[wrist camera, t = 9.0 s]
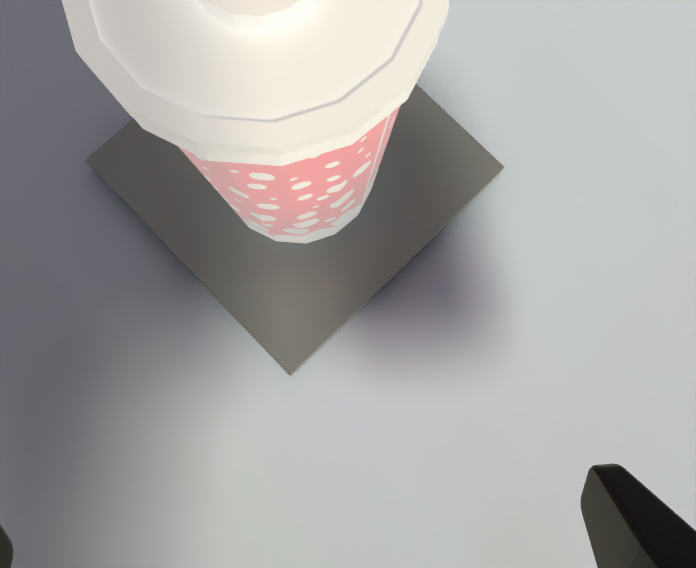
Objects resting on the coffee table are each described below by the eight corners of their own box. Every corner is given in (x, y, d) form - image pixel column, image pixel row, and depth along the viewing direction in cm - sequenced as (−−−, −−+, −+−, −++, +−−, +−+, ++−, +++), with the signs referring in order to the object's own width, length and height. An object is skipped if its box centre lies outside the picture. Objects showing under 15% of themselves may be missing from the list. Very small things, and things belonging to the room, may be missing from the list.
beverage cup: (283, 40, 19) (119, -927, 5) (438, 154, 18) (748, -583, 4) (154, 186, 18) (-476, -489, 4) (314, 310, 17) (207, 12, 4)
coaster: (291, 375, 18) (289, 375, 17) (93, 167, 19) (85, 160, 18) (499, 173, 19) (504, 166, 18) (302, -12, 20) (301, -25, 19)
